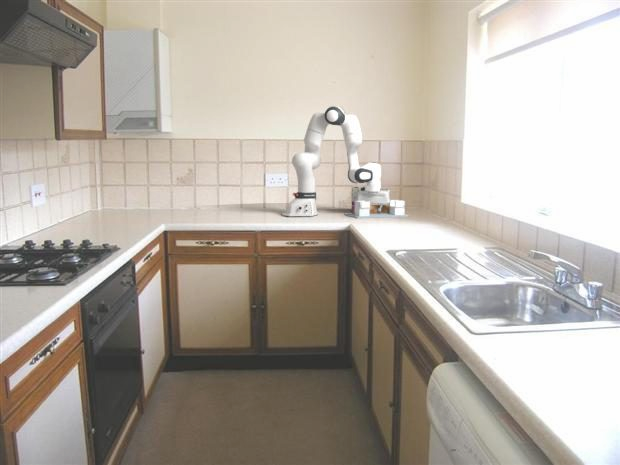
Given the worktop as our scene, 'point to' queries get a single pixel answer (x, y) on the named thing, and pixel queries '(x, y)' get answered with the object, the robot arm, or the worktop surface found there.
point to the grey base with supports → (363, 212)
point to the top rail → (375, 209)
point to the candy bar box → (354, 195)
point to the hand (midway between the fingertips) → (373, 210)
